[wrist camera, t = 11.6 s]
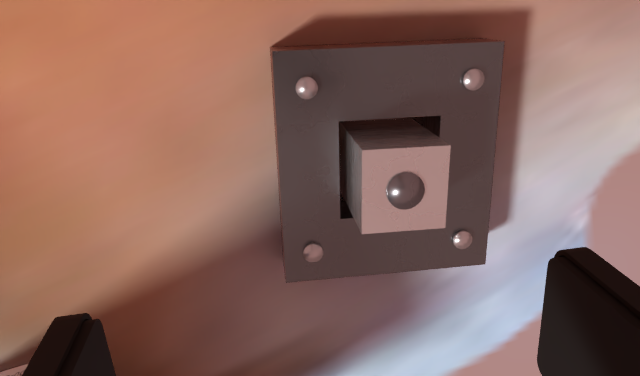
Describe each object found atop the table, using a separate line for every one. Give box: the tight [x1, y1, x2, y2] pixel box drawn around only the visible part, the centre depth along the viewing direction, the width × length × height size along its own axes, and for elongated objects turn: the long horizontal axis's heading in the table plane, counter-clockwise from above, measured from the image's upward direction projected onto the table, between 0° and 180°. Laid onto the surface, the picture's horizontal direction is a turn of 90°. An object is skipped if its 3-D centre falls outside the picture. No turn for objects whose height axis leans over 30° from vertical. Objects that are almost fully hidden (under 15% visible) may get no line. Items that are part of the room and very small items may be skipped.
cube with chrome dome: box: [339, 118, 451, 234], centre depth 30 cm, size 5×5×7 cm
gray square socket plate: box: [270, 38, 504, 283], centre depth 32 cm, size 14×13×3 cm
